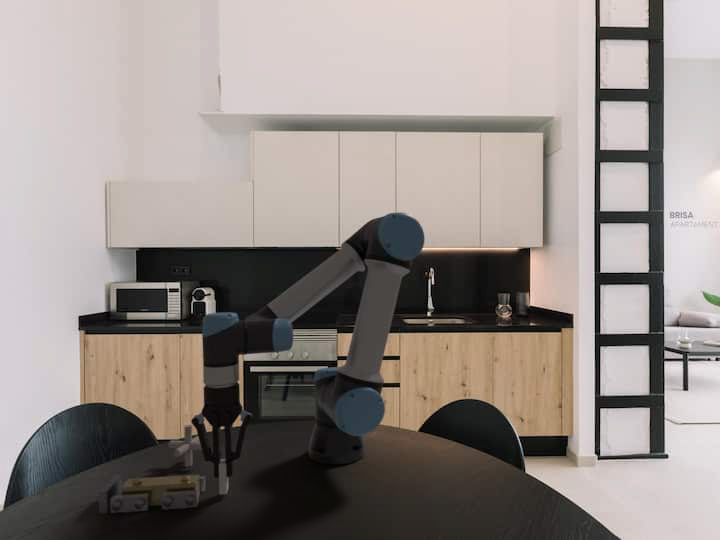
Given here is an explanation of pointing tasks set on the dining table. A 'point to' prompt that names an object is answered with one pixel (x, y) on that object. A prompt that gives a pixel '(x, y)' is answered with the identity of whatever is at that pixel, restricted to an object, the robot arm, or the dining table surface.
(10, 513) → the dining table surface
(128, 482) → the link
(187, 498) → the chain end
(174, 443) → the pipe connector
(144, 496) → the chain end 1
